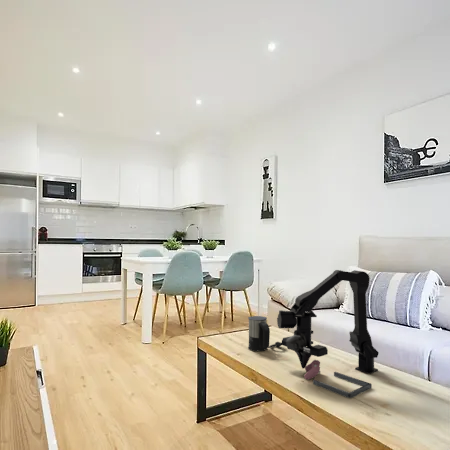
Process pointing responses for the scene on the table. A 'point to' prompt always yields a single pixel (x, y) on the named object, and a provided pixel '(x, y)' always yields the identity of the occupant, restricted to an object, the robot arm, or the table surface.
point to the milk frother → (259, 334)
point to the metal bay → (351, 394)
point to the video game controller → (312, 369)
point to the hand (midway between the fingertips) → (303, 368)
